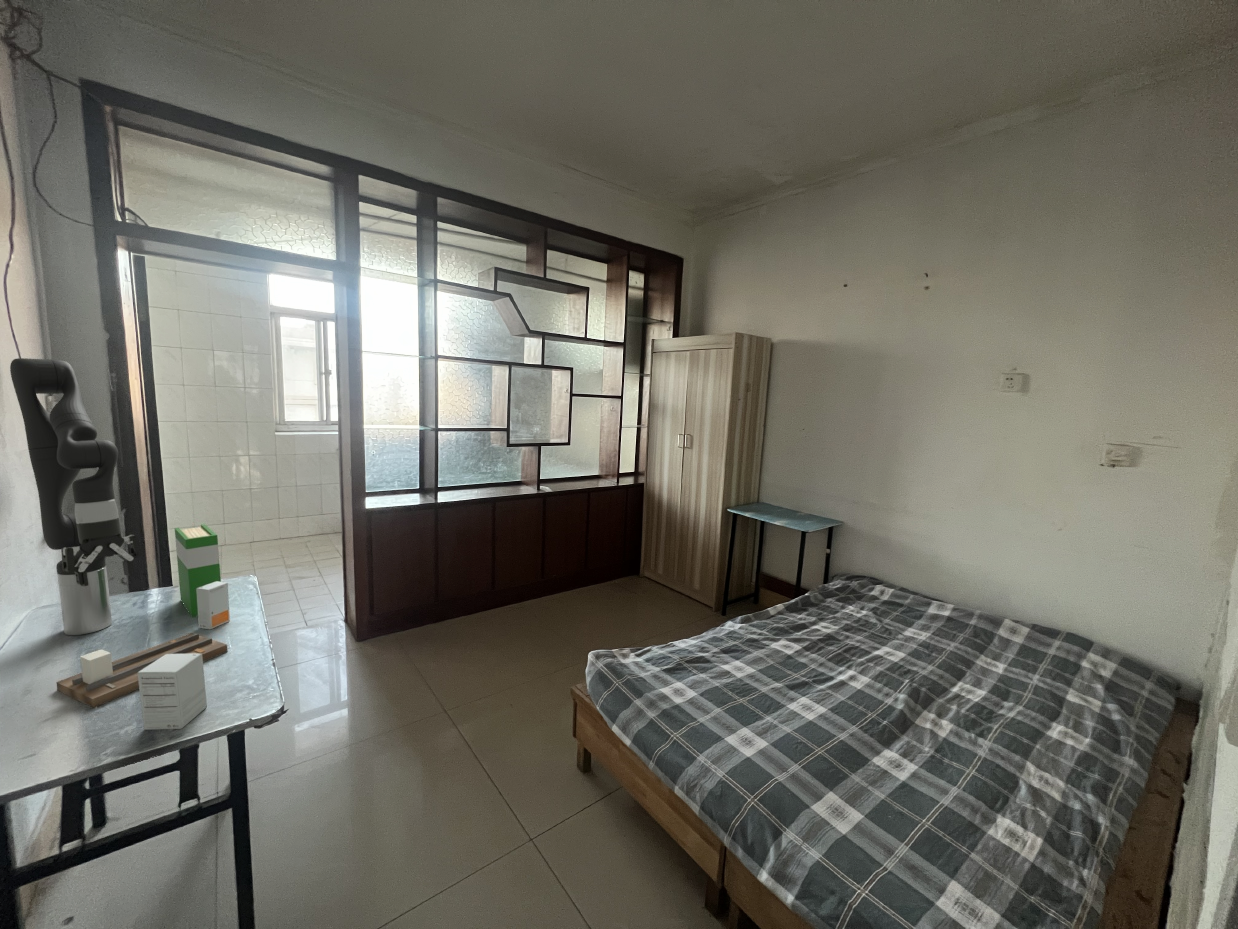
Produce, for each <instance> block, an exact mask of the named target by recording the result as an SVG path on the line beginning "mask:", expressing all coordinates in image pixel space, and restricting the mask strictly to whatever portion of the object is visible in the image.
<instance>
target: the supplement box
mask: <svg viewBox="0 0 1238 929" xmlns="http://www.w3.org/2000/svg"><path fill="white" fill-rule="evenodd" d="M138 681H139V689H138V690H139V697H140V698H139V699H140V707H141V708H140V709H141V716H142V717H141V718H142V725H143V726H142V727H143V730H153V731H154V730H177V729H178V730H180V729H183V728H184V727H185V726H186V725H188V724H189V723H190V722H191V721H193V720H194V719H195V718H196V717H197V716H198V715H199V714H200V713H202V711H204V710H205V709H206V708H207V707H208V703H207V693H206V690H207V689H206V682H205V672H204V662H203V658H202V654H198V653H191V654H165V655H164V656H162V657H161V658H159V659H158V660H156V661H155V662H153V663H152V664H150V665H148V666H147V667H145V668H144V669H142V670H141V671H139V672H138Z"/></svg>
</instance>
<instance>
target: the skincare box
mask: <svg viewBox="0 0 1238 929" xmlns="http://www.w3.org/2000/svg"><path fill="white" fill-rule="evenodd" d="M196 592H197V607H198V616H197V622H198V628H199V629H204V630H213V629H214V628H216V627H217V628H218V627H219V626H222V625H223V624H226V623H229V622H230V621H231V619H230V617H231V616H230V600H229V599H230V598H229V583H228V582H225V581H224V582H223V581H221V582H218V581H216V582H213V583H210V584H207V585H205V586H202V587H199V588H197V589H196Z"/></svg>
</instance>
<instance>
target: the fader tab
mask: <svg viewBox="0 0 1238 929" xmlns="http://www.w3.org/2000/svg"><path fill="white" fill-rule="evenodd" d="M79 658H80V666H81V673H82V677H83V682H85V683H87V684H91V683H93V682H96V681H99V680H101V679H104V678H106V677H109V676H112V675H113V669H112V662H113V660H112V653H111V652H109V651H107V650H104V649H97V650H95V651H93V652H89V653H86V654H84V655H81V656H79Z"/></svg>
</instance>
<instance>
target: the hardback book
mask: <svg viewBox="0 0 1238 929" xmlns="http://www.w3.org/2000/svg"><path fill="white" fill-rule="evenodd" d="M174 537H175V538H174V539H175V548H176V559H177V560H176V561H177V570H178V571H177V572H178V582H179V583H178V584H179V593H180V594H179V595H180V601H181V600H182V601H181V602H183V603H184V604H183V603H182V604H183V606H184V605H185V606H186V607H185V606H184V607H185V609H186V608H187V609H186V611H187V612H188V611H189V612H188V613H189V616H190V617H191V616H192V617H191V618H193V617H194V616H195V617H198V607H197V592H196V589H197V588H199V587H202V586H205V585H207V584H210V583H213V582H216V581H218V582H222V578H221V564H220V555H219V554H220V552H219V540H218V534H217V533H216V532H214V531H213V530H212V529H211V528H210V527H208V526H207V525H206V523H203V524H200V526H199V527H192V528H191V527H190V528H184V529H183V528H182V529H181V528H180V527H174Z"/></svg>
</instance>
